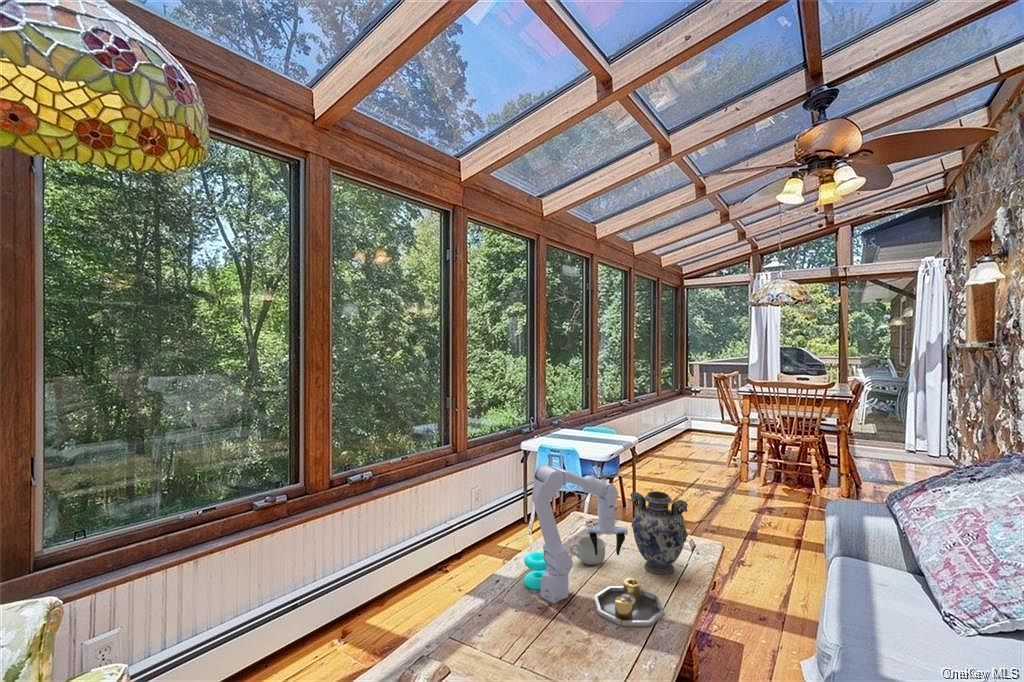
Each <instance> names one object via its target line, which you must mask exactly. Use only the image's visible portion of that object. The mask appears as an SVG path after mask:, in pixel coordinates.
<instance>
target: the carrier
mask: <svg viewBox="0 0 1024 682" xmlns="http://www.w3.org/2000/svg"><path fill="white" fill-rule="evenodd" d="M632 585H634V584H632ZM593 601H594V607H595V609H596V612H597V614H598V615H599V616H600V617H603V618H604V619H605V620H607V621H610V622H611V623H613V624H614V623H615V624H616V625H618V626H622V627H631V628H632V627H634V628H635V627H636V628H638V627H639V628H640V627H651V626H652V625H654V624H656V623H658V621H659V620H660V619H661V618H662V617H664V616H665V609H664V608H663V606H662V603H661V601H660V600H659V597H658V596H657V595H656V594H654V593H651V592H649V591H647V590H644V589H642V588H641V598H640V601H636V602H635V597H634V596H633V595H631V594H624V585H608V586H607V587H605V588H604V589H601V590H600V591H599V592H597V593H596V594H594V595H593Z"/></svg>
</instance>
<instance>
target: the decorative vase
mask: <svg viewBox="0 0 1024 682" xmlns="http://www.w3.org/2000/svg"><path fill="white" fill-rule="evenodd" d="M629 496H630V499H631V500H630V503H631V502H632V503H633V504H634V505H635V508H634V516H633V519H632V522H631V528H632V532H633V537H634V540H635V543H636V547H637V549H638V551H639V553H640V555H641V556H642V558H644V560H646V561H645V563H644V568H645V569H646V570H647V572H649V573H651V574H655V575H661V576H663V575H664V576H665V575H671V574H672V573H674V571H675V568H674V565H673V563H674V562H676V561H677V560H678V558H679V557H680V556H681V553H682V551H683V548H684V545H685V543H686V542H687V537H689V533H688V531H687V529H686V526H685V518H684V516H683V513H684V512H685V513H687V512H688V505H689V504H688V503H687V501H686V500H683V499H678V500H675V501H672V497H670V495H669V494H667V493H666V492H662V491H650V492H648V493H647V494H646V495H645V496H644V495H643V494H641V493H639V492H638V491H634V492H633V491H632V492H631V493H630V494H629ZM647 503H648V504H647ZM670 503H671V507H670V506H669V504H670ZM669 507H670V508H671V509H669Z"/></svg>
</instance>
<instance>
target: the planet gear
mask: <svg viewBox="0 0 1024 682" xmlns="http://www.w3.org/2000/svg"><path fill="white" fill-rule="evenodd" d="M632 584H634V585H632ZM623 586H624V594H631V595H633V596H634V597H635V602H636V601H640V598H641V589H642V582H641V581H640V580H638V579H637V578H632V577H628V578H624V580H623Z"/></svg>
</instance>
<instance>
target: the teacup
mask: <svg viewBox="0 0 1024 682" xmlns="http://www.w3.org/2000/svg"><path fill="white" fill-rule="evenodd" d="M574 547H576V549H577V552H576V551H574V550H573V548H574ZM569 551H570V553H571V554H572V555H574V556H575V557H577V558H578V559H580V561H581V562H582V563H584V565H587V566H593V567H594V566H598V565H600V564H602V562H603V561H604V560H605V557H606V542H605V540H604V539H602V538H600V537H598V536H597V552H598V555H595V549H594V545H593V543H592V540H591V538H590V535H586V536H582V537H580V538H578V540H577V542H573V543H571V544H570V545H569Z"/></svg>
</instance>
